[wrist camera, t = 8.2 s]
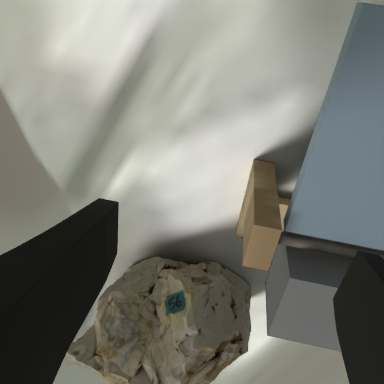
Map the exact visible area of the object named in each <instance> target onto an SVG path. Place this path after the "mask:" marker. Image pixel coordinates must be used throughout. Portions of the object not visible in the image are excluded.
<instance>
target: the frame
mask: <svg viewBox="0 0 384 384" xmlns="http://www.w3.org/2000/svg"><path fill="white" fill-rule="evenodd" d="M290 200H291V199H287V198H281V197H278V191H277V183H276V175H275V166H274V163H272V162H266V161H261V160H255V159H254V161H253V165H252V169H251V173H250V177H249V181H248V185H247V189H246V193H245V197H244V201H243V205H242V209H241V213H240V217H239V220H238V224H237V228H236V236H239V237H244V238H243V262H242V266H245V267H250V268H255V269H260V270H265V271H268V270H269V267H270V264H271V261H272V259H273V256H274V253H275V250H276V247H277V244H282V245H287V246H292V247H297V248H302V249H307V250H312V251H317V252H322V253H327V254H332V255H337V256H342V257H347V258H352V259H354V257H355V255H356V253H357V251H362V252H367V253H372V254H377V255H380V256H381V257H382V258H383V259H384V252H383V251H378V250H373V249H368V248H363V247H358V246H353V245H348V244H343V243H338V242H333V241H328V240H323V239H318V238H313V237H308V236H303V235H298V234H293V233H288V232H283V229H284V221H283V220H284V217H285V214H286V212H287V209H288V206H289V203H290Z"/></svg>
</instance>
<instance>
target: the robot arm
mask: <svg viewBox="0 0 384 384" xmlns="http://www.w3.org/2000/svg"><path fill="white" fill-rule="evenodd" d="M118 204H119V202H115V201H110V200H105V199H101V198H99V199H97V200H96V201H94V202H92V203H91V204H89V205H87V206H86V207H84V208H83V209H81V210H79V211H78V212H76V213H75V214H73V215H72V216H70V217H68V218H67V219H65V220H63V221H62V222H60V223H59V224H57V225H55V226H54V227H52V228H50V229H49V230H47V231H45V232H43V233H42V234H40V235H38V236H36V237H34V238H33V239H30V240H29V241H27V242H25V243H23V244H21V245H20V246H18V247H16V248H14V249H12V250H10V251H8V252H6V253H4V254H2V255H0V384H52V383H53V381H54V379H55V377H56V375H57V372H58V370H59V368H60V366H61V363H62V361H63V359H64V357H65V355H66V353H67V351H68V349H69V347H70V345H71V343H72V341H73V340H74V338H75V336H76V334H77V333H78V330H79V329H80V327H81V325H82V324H83V322H84V320H85V318H86V316H87V315H88V313H89V311H90V309H91V307H92V306H93V304H94V302H95V300H96V298H97V297H98V295H99V293H100V291H101V289H102V287H103V286H104V284H105V282H106V280H107V277H108V275H109V272H110V270H111V268H112V265H113V262H114V260H115V257H116V255H117V243H118ZM333 305H334V316H335V324H336V331H337V336H338V340H339V344H340V348H341V352H342V356H343V360H344V364H345V368H346V371H347V375H348V379H349V383H350V384H384V259H383V258H382V257H381V256H380V255H377V254H372V253H367V252H362V251H357V253H356V255H355V257H354V259H353V261H352V263H351V264H350V266H349V268H348V270H347V272H346V274H345V276H344V278H343V280H342V282H341V284H340V286H339V287H338V289H337V291H336V293H335V295H334V297H333Z"/></svg>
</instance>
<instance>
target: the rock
mask: <svg viewBox="0 0 384 384" xmlns="http://www.w3.org/2000/svg"><path fill="white" fill-rule="evenodd" d="M250 299H251V290H250V285H248V284H247V283H245V281H244V280H243V279H242V278H240V277H239V276H237V275H236V274H235V273H233V272H231V271H229V270H228V268H222V267H221V265H220V264H219V263H216V262H201V263H199V264H197V265H194V264H187V263H185V262H184V261H175V260H171V259H163V258H161V257H152V258H151V259H146V260H143V261H141V262H140V263H138V264H136V265H133V266H131V267H129V268H128V270H127V271H126V272H125V273H124V275H123V276H122V277H121V278H119V279H118V280H117V281H116V282H115V283H114V284H112V285H111V286H109V287H108V288H107V289H106V290H105V292H104V293H103V294H102V296H101V297H100V298H99V300H98V308H97V310H98V312H97V315H96V319H95V321H94V325H93V326H92V327H91V328H90V329H89V330H87V331H86V333H85V334H84V335H83V336H82V337H81V338H79V339H78V340H77V341H76V342H73V343H72V344H71V346H70V347H69V349H68V351H67V353H66V355H65V357H66V362H67V364H68V365H70V366H73V367H79V368H87V369H91V370H92V371H93V372H94V373H95V374H96V375H98V376H99V377H100V378H101V379H102V380H103V381H104V382H106V383H107V384H209V383H211V382H212V381H213V380H214V379H215V378H216V377H217V376H218V374H219V373H220V372H221V371H222V370H223V369H224V368H225V367H227V366H228V365H230V364H231V363H232V362H233V361H235V360H236V359H237V358H238V357H239V356H241V355H243V354H244V353H246V352H248V341H249V336H250V332H251V321H250V315H249V314H250V312H249V309H250Z"/></svg>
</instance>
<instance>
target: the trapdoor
mask: <svg viewBox="0 0 384 384" xmlns="http://www.w3.org/2000/svg"><path fill="white" fill-rule="evenodd" d="M283 221H284V229H283V232H288V233H293V234H298V235H303V236H308V237H313V238H318V239H323V240H328V241H333V242H338V243H343V244H348V245H353V246H358V247H363V248H368V249H373V250H378V251H383V252H384V6H382V5H376V4H369V3H362V2H357V4H356V7H355V10H354V13H353V16H352V19H351V22H350V25H349V28H348V31H347V34H346V37H345V40H344V43H343V46H342V49H341V52H340V55H339V58H338V61H337V64H336V67H335V69H334V72H333V75H332V78H331V81H330V84H329V87H328V90H327V93H326V96H325V99H324V102H323V105H322V108H321V111H320V114H319V117H318V120H317V123H316V126H315V129H314V132H313V135H312V138H311V140H310V143H309V146H308V149H307V152H306V155H305V158H304V161H303V164H302V167H301V170H300V173H299V176H298V179H297V182H296V185H295V188H294V191H293V194H292V197H291V200H290V203H289V206H288V209H287V212H286V214H285V217H284V220H283ZM352 261H353V259H352V258H347V257H342V256H337V255H332V254H327V253H322V252H317V251H312V250H307V249H302V248H297V247H292V246H287V245H282V244H278V247H277V249H276V252H275V255H274V258H273V261H272V264H271V267H270V270H269V273H268V276H267V279H266V281H265V289H266V314H267V336H272V337H277V338H281V339H286V340H290V341H295V342H299V343H304V344H309V345H313V346H318V347H322V348H327V349H331V350H336V351H340V352H341V348H340V344H339V340H338V336H337V331H336V324H335V316H334V305H333V297H334V295H335V293H336V291H337V289H338V287H339V286H340V284H341V282H342V280H343V278H344V276H345V274H346V272H347V270H348V268H349V266H350V264H351V263H352Z"/></svg>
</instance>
